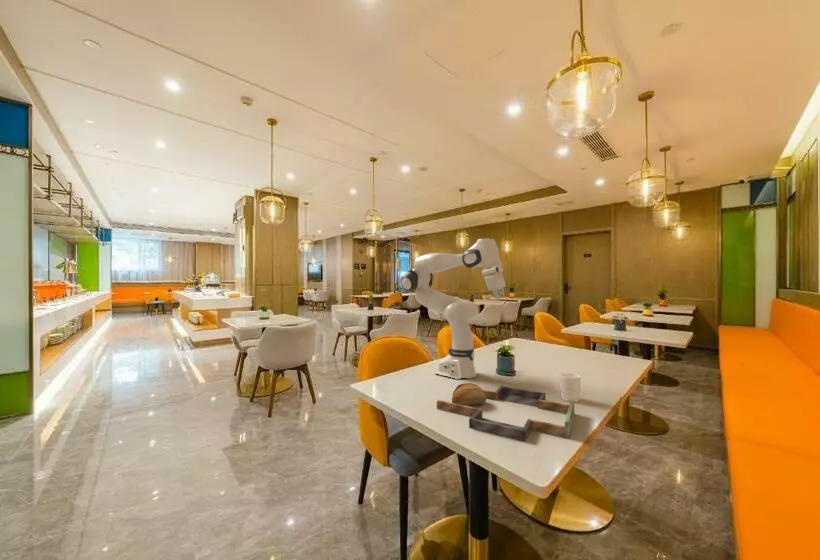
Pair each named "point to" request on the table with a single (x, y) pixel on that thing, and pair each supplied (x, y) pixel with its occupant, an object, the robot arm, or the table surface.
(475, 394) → the bread roll
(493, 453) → the table surface
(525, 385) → the table surface
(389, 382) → the table surface
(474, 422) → the box
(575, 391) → the white cup
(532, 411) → the table surface
